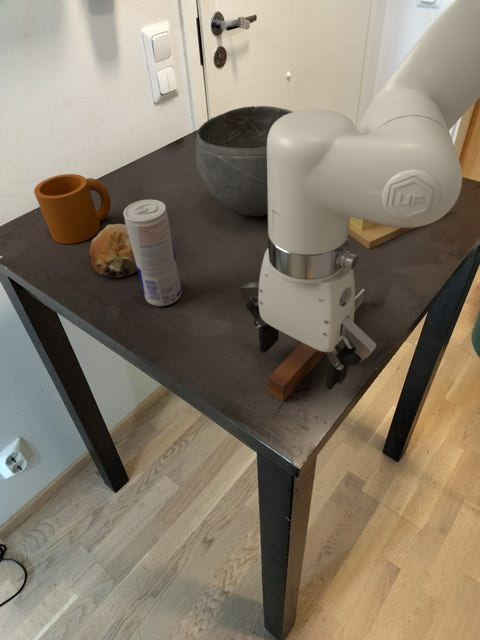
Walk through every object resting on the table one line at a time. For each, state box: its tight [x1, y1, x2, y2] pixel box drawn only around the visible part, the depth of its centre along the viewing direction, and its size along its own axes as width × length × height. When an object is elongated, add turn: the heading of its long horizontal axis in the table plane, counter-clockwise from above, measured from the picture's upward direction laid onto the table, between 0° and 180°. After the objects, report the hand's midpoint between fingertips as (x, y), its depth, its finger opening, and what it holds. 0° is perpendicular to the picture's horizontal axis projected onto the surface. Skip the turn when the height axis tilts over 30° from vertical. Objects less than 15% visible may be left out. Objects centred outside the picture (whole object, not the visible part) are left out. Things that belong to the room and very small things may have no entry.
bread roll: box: [88, 223, 138, 279], centre depth 76 cm, size 10×10×8 cm
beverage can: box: [122, 199, 183, 307], centre depth 65 cm, size 6×6×15 cm
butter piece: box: [349, 217, 378, 231], centre depth 79 cm, size 4×5×4 cm
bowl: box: [194, 105, 293, 217], centre depth 83 cm, size 21×21×15 cm
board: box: [348, 223, 417, 250], centre depth 83 cm, size 18×12×2 cm, turn 122°
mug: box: [33, 173, 112, 245], centre depth 82 cm, size 9×12×9 cm
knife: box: [267, 288, 366, 403], centre depth 60 cm, size 21×2×3 cm, turn 141°
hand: (300, 362), depth 57 cm, fingers open, 9 cm apart
